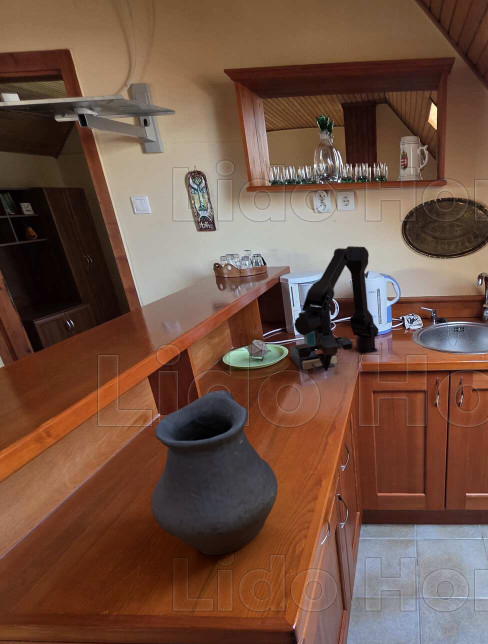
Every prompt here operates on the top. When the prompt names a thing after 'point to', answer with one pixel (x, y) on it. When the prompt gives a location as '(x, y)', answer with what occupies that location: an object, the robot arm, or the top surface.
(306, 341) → the block
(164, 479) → the dark grey clay pot
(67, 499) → the top surface
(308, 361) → the drawer
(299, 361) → the cabinet
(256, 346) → the game die
